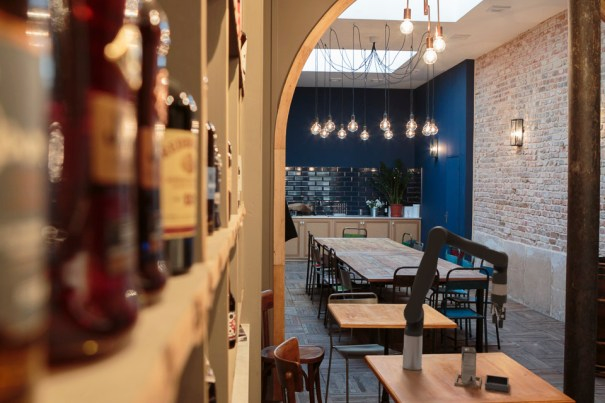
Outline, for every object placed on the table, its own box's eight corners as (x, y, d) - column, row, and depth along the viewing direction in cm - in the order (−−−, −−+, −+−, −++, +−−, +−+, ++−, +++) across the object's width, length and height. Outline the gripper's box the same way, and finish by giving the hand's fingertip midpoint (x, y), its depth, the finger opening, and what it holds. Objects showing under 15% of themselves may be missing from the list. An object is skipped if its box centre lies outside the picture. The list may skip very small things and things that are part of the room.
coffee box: (460, 378, 272) (461, 346, 272) (474, 380, 271) (475, 347, 270) (462, 385, 263) (462, 351, 263) (476, 386, 262) (477, 352, 261)
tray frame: (454, 385, 262) (454, 382, 262) (457, 376, 275) (457, 374, 275) (480, 388, 258) (480, 386, 258) (481, 379, 271) (481, 377, 271)
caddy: (484, 389, 257) (485, 383, 257) (486, 380, 270) (486, 374, 270) (508, 393, 254) (508, 386, 254) (508, 383, 266) (508, 377, 266)
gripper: (486, 289, 278) (484, 321, 278) (496, 295, 263) (494, 329, 264) (501, 290, 278) (499, 322, 278) (512, 295, 263) (510, 329, 264)
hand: (497, 325), depth 271 cm, fingers open, 8 cm apart
